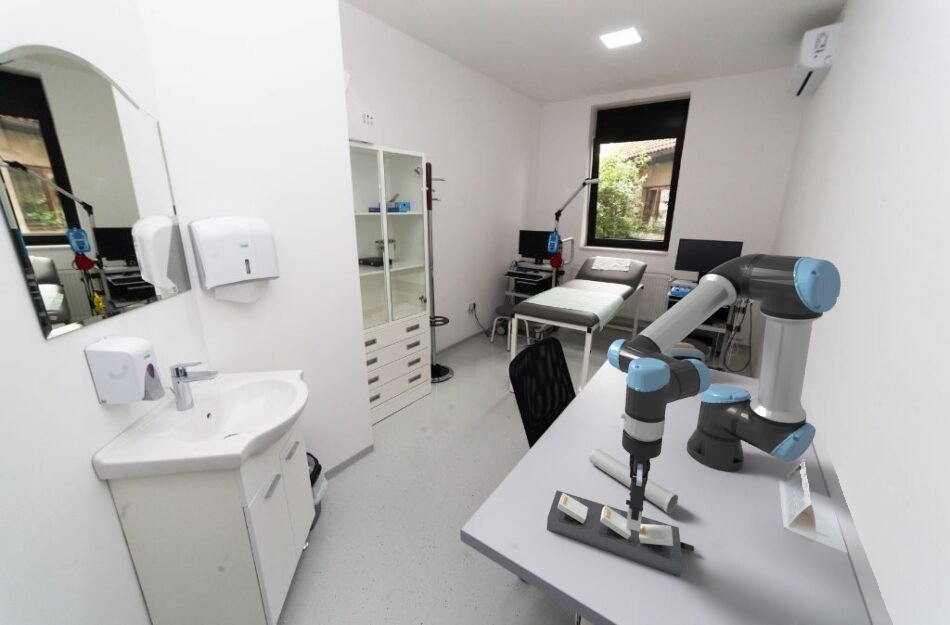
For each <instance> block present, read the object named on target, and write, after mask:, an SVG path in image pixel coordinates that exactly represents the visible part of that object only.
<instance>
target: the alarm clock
mask: <svg viewBox="0 0 950 625" xmlns="http://www.w3.org/2000/svg"><path fill="white" fill-rule="evenodd" d="M695 346H696V345H693V344H691V343H689V342H688V343H687V342H682V341H680V342H679V343H678V344H676V345H675V346H674V347H673V348H672V349H671V350H669V351H668V352H667V353H666V354H665V355H666V356H669V357H672V358H674V359H677V360H680V361H682V360H684V359H696V360H699V361H701V362H703V363H704V364H705V362H706V355H705V353H704V352H703V351H701V350H699V349H697V348H696V347H695Z"/></svg>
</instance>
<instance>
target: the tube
mask: <svg viewBox="0 0 950 625" xmlns="http://www.w3.org/2000/svg"><path fill="white" fill-rule="evenodd" d="M588 458H589V462H590V464H592V465H594V466H595V467H597V468H598V469H600V470H602V471H603V472H605V473H606V474H607V475H609V476H611V477H612V478H614V479H616V480H617V481H619V482H620V483H622V484H623V485H624V486H626V487H628V488H629V489H630V485H631V478H630V466H628V465H627V464H625V463H623V462H621V461H619V459H616V458H614V457H613V456H611V455H610V454H608V453H606V452H604V451H603V450H601V449H599V448H593V449H592V450H591V452H589V453H588ZM644 496H646V500H648V501H650V502H651V503H653V504H654V505H655V506H657V507H659V508H660V509H661V510H663V511H664V512H665V513H667V514H669V515H670V514H671V513H672V512H674V510H675V509H676V506H677V504H678V500H679V495H678V494H676V493H674V492H671V491H670V490H668V489H666V488H664V487H663V486H661V485H660V484H658V483H656V482H654V481H653V480H652V479H649V478H648V480H647V484H646V487H645V494H644Z"/></svg>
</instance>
